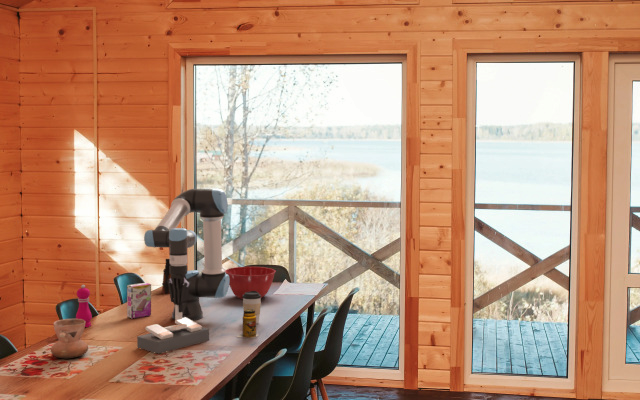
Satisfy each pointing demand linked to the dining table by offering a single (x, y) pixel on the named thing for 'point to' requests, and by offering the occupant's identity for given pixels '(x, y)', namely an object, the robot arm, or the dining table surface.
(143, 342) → the power strip
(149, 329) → the rocker
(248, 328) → the condiment
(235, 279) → the mixing bowl
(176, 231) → the robot arm
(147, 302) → the candy bar box
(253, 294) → the coffee cup
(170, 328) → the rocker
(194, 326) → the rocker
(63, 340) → the ceramic jug
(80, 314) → the pepper mill
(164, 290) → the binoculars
